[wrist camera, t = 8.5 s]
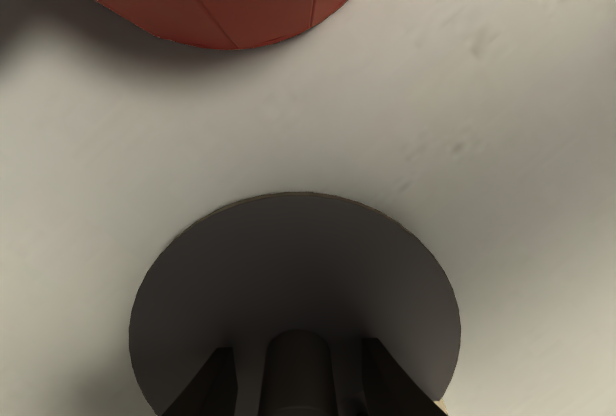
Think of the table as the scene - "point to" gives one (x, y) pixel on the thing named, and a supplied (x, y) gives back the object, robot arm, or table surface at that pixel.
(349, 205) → the lid
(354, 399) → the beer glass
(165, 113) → the table surface
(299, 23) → the pot
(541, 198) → the table surface
